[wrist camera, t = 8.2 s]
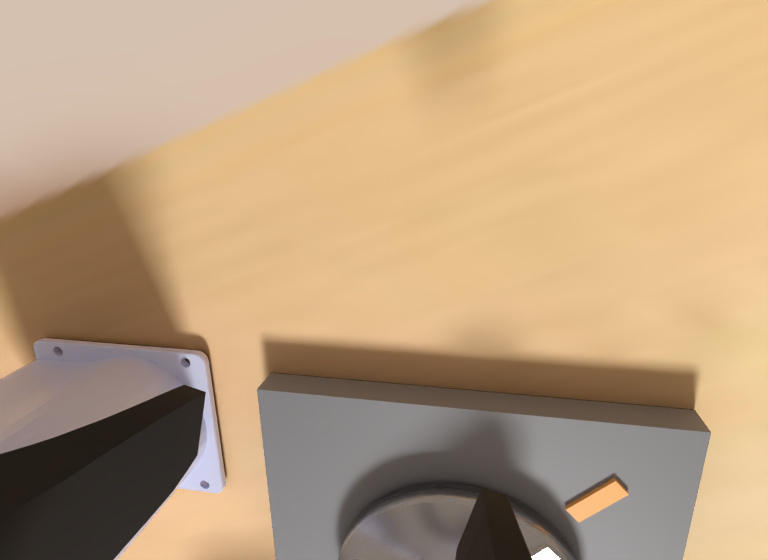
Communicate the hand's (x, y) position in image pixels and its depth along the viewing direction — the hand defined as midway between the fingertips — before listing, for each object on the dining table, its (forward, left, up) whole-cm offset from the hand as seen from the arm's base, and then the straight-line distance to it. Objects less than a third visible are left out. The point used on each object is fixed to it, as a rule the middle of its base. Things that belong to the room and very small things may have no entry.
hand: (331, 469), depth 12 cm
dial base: (+3, -12, -9) cm, 16 cm away
